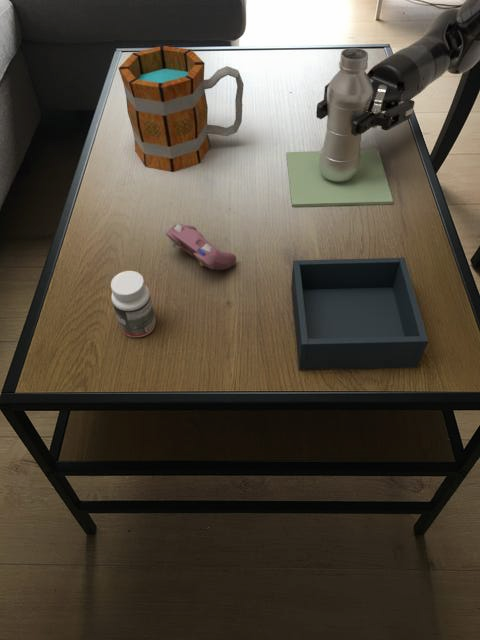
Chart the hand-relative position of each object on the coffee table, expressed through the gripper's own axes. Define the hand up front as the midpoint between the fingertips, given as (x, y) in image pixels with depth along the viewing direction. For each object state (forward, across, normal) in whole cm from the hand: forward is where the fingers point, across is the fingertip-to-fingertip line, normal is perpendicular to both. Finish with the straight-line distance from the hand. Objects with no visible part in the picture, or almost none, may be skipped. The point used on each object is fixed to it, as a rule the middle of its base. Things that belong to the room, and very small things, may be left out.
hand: (336, 120), depth 80 cm
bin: (+21, +20, +12) cm, 32 cm away
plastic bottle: (-2, 0, +11) cm, 11 cm away
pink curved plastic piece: (+26, -3, +12) cm, 29 cm away
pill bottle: (+40, 0, +12) cm, 42 cm away
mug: (+8, -25, +12) cm, 29 cm away
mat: (-2, 0, +12) cm, 12 cm away
